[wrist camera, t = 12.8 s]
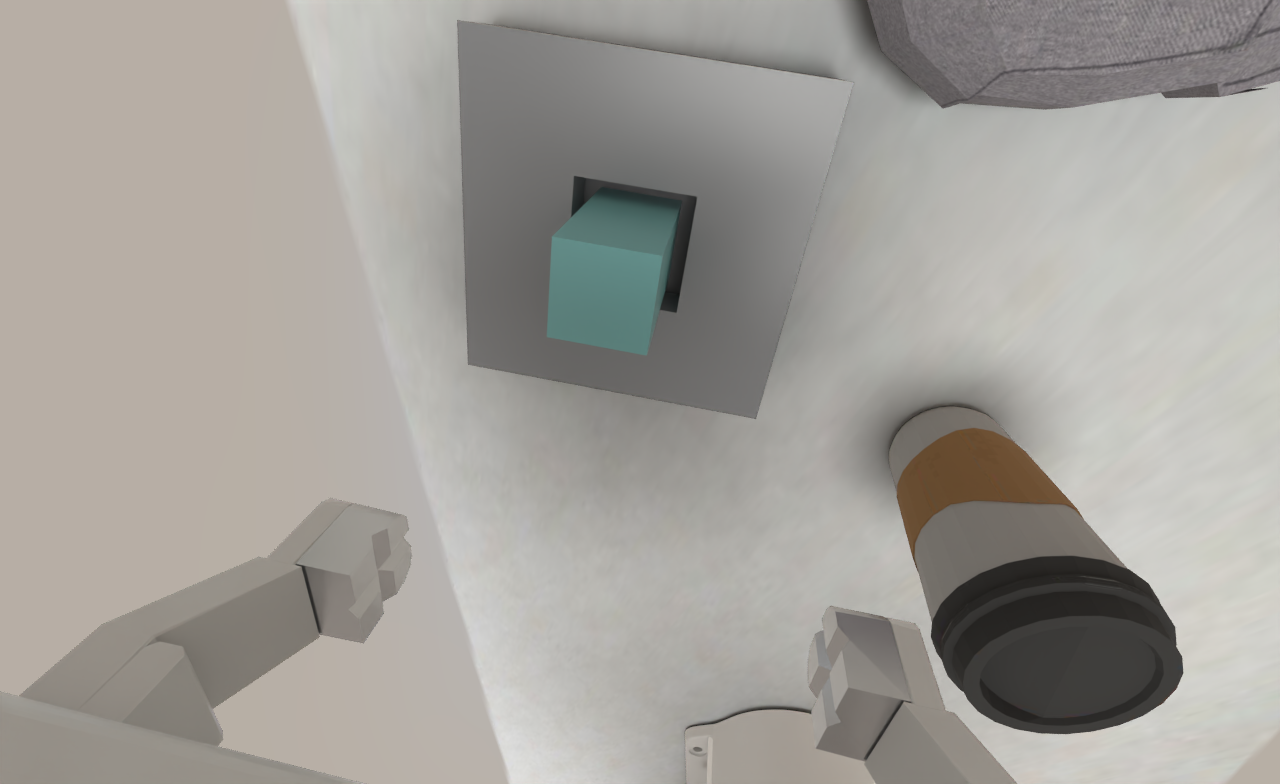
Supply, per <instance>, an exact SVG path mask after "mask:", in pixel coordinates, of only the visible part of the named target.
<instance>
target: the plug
mask: <svg viewBox="0 0 1280 784" xmlns="http://www.w3.org/2000/svg"><path fill="white" fill-rule="evenodd" d="M681 204H682V201H681V200H675V199H669V198H663V197H657V196H652V195H646V194H640V193H634V192H628V191H623V190H617V189H611V188H605V187H601V188H600V189H599V190H598V191H597V192H596V193H595V194H594V195H593V196H592V197H591V198H590V199H589V200H588V201H587V202H586V203H585V204H584V205H583V206H582V207H581V208H580V209H579V210H578V211H577V212H576V213H575V214H574V215H573V216H572V217H571V218H570V219H569V220H568V221H567V222H566V223H565V224H564V225H563V226H562V227H561V228H560V229H559V230H558V231H557V232H556V233H555V234H554V235H553V236H552V246H551V265H550V284H549V303H548V322H547V337H549V338H555V339H560V340H565V341H571V342H576V343H582V344H587V345H592V346H598V347H603V348H608V349H614V350H619V351H624V352H630V353H635V354H641V355H646V356H647V353H648V349H649V346H650V343H651V339H652V336H653V332H654V329H655V325H656V322H657V318H658V315H659V311H660V308H661V304H662V301H663V297H664V294H665V290H666V287H667V283H668V280H669V275H670V269H671V263H672V257H673V251H674V245H675V240H676V234H677V228H678V222H679V216H680V210H681Z"/></svg>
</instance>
